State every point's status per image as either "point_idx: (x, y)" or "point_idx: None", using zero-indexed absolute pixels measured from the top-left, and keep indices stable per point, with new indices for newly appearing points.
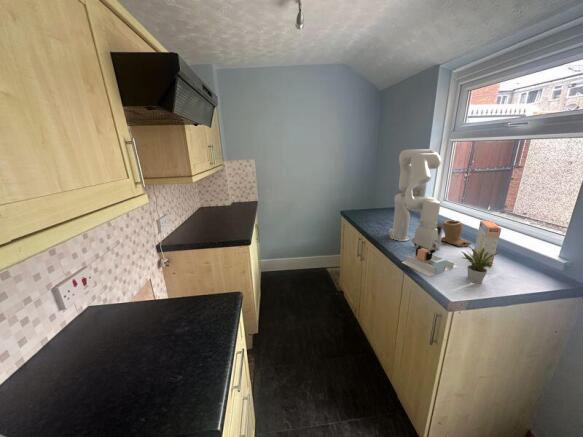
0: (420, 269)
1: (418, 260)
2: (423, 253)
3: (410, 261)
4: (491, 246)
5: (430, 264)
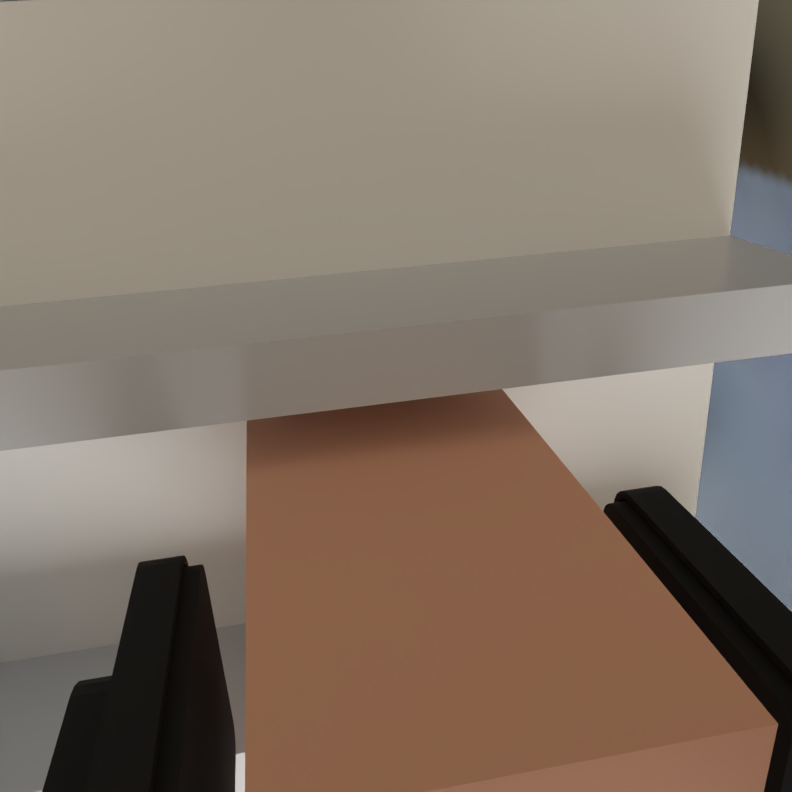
0: (100, 156)
1: (376, 348)
2: (334, 702)
3: (613, 254)
4: None
5: (243, 638)
